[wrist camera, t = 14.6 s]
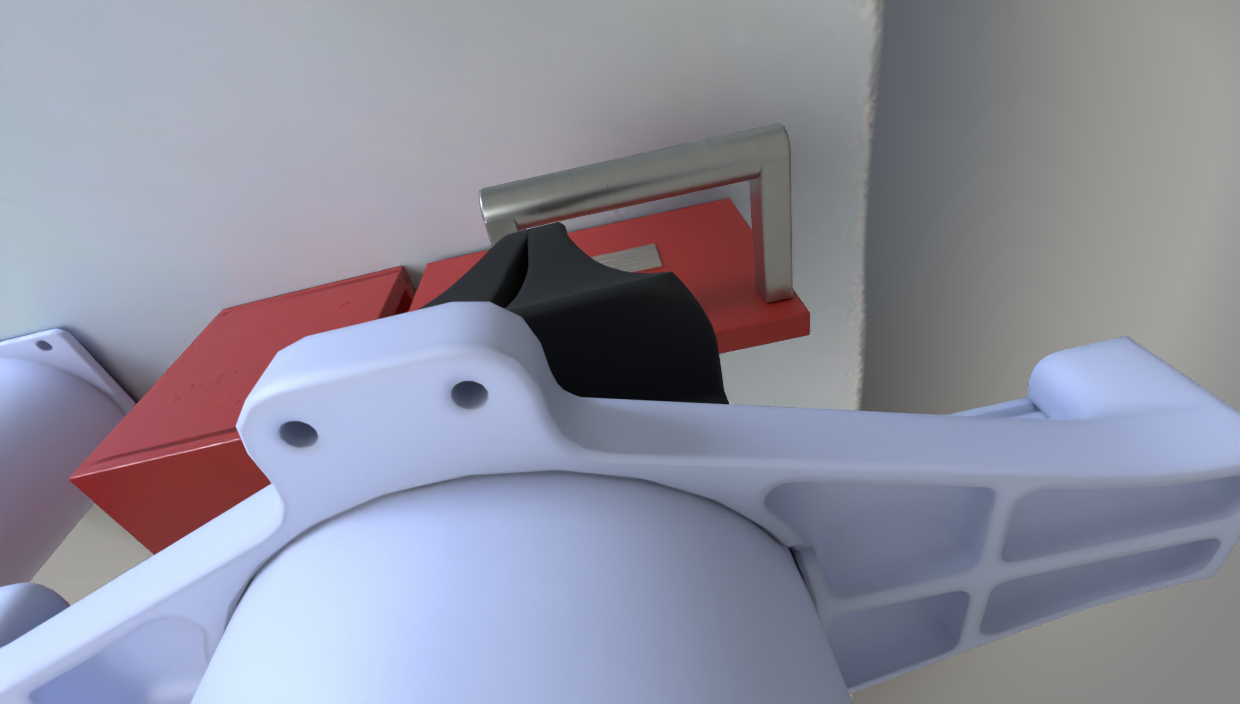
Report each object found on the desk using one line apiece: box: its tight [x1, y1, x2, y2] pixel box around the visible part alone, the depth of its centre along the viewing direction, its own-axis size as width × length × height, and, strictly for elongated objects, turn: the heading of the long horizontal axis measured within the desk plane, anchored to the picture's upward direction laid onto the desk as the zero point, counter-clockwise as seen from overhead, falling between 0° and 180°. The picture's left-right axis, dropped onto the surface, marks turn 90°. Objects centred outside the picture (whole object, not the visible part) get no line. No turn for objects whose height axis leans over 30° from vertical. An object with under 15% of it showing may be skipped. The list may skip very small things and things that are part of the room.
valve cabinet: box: [68, 266, 416, 555], centre depth 24 cm, size 8×13×10 cm, turn 12°
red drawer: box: [408, 123, 810, 354], centre depth 19 cm, size 6×13×9 cm, turn 101°
